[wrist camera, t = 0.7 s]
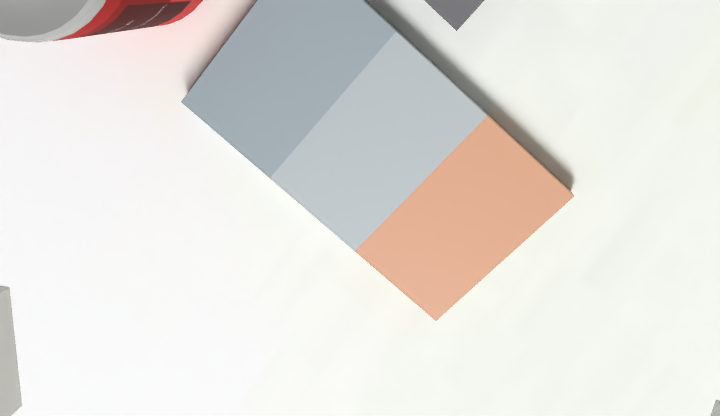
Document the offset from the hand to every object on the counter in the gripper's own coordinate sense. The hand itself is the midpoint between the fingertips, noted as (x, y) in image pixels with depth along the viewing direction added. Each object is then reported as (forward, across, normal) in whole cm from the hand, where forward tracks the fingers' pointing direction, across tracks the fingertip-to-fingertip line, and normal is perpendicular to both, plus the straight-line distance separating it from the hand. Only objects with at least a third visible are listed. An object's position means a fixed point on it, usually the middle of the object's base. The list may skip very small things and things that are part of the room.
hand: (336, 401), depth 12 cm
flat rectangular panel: (+22, -2, 0) cm, 22 cm away
